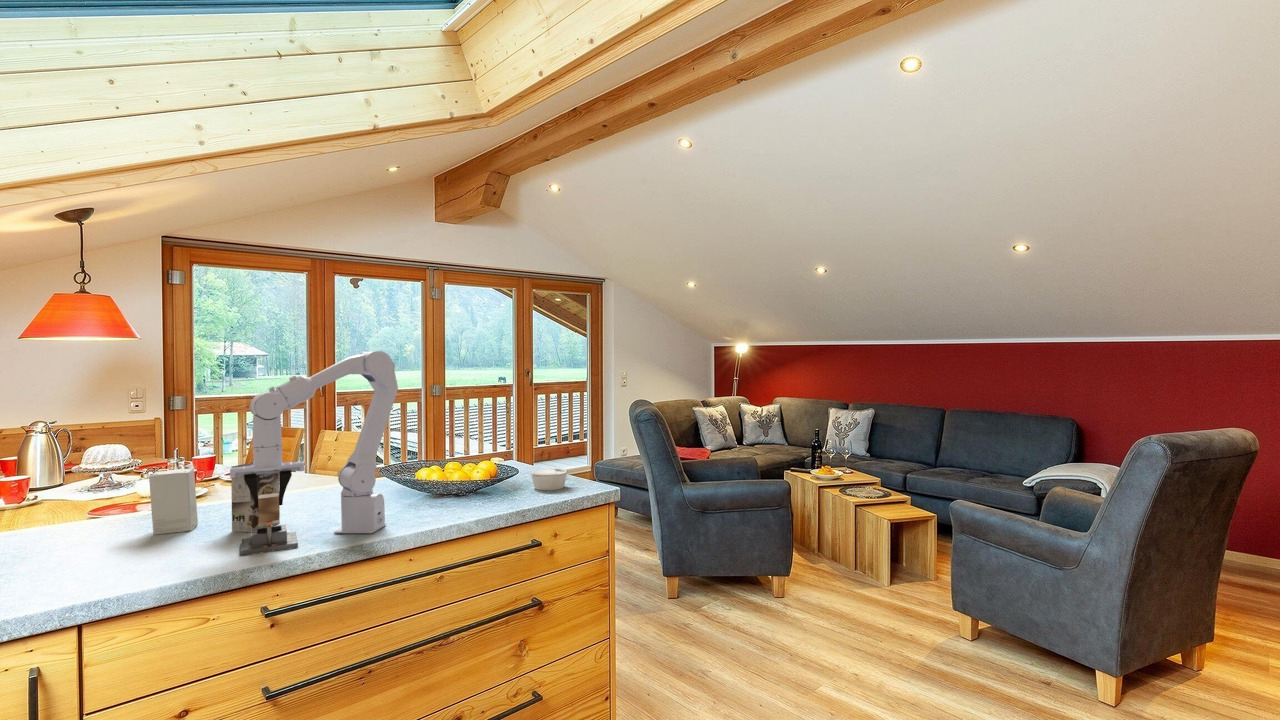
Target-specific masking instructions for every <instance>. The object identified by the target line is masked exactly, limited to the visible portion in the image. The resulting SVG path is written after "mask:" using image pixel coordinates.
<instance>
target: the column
mask: <svg viewBox="0 0 1280 720" xmlns="http://www.w3.org/2000/svg"><path fill="white" fill-rule="evenodd" d="M279 506H280V505H279V493H275V494H266V495H258V508H259V526H266V521H272V525H273V526H275V525H274V524H276V525H279V524H280V523H281V520H280V519H279Z"/></svg>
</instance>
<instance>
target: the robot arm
mask: <svg viewBox="0 0 1280 720" xmlns="http://www.w3.org/2000/svg"><path fill="white" fill-rule="evenodd" d="M395 368H396V364H395V363H394V361H393V359H392V358H391V356H390V355H389V354H388V353H387V352H385V351H382V350H375V351H370V350H366V351H365V350H364V351H362V352H360V353H359V354H354V355H351V356H348V357H347V358H343V359H342V360H340V361H338V362H336V363H334V364H332V365H330V366H328V367H326V368H325V369H323V370H321V371H319V372H317V373H315V374H313V375H311V376H309V377H308V376H304V375H298V376H296V375H292V376H291V377H288V379H289V380H288V381H286V382H284V383H281V384H280V385H277V386H276V387H274V386H270V387H269V388H268V391H269V392H261V393H257V394H256V395H255V396H254V397H253V398H252V399H251V400H250V401H251V402H250V403H249V404H250V405H248V407H249V411H250V413H251V414H252V423H253V426H252V428H251V430H252V459H253V460H252V462H253V465H251V466H244V467H235V468H231V467H230V469H229V478H234V477H239V476H244V481H245V483H246V484H247V486H248V488H249V490H250V492H251V494H252V497H253V500H254V503H255V508H258V491H257V475H261V474H272V473H279V506H283V505H284V504H283V503H284V502H283V501H284V496H285V493H286V490H287V487H288V485H289V483H290V480H291V479H292V476H293V475H292V474H293V473H292V472H304V471H305V462H304V461H296V462H295V461H293V462H292V461H289V462H288V461H287V462H283V441H282V440H283V438H282V437H283V434H282V432H283V430H282V428H283V427H282V424H281V423H282V421H281V420H282V419H281V417H282V416H281V415H282V414H283V412H284V411H285V410H286V411H287V410H289V409H291V408H293V407H296V406H297V405H300V404H302V403H304V402H306V401H307V400H310V399H312V398H313V397H314V396H315V393H316V391H317V389H320V388H322V387H324V386H326V385H329V384H330V383H333V382H335V381H337V380H339V379H341V378H343V377H347V376H348V375H360V376H361V377H363V378H364V379H366V380H367V382H368V383H369V385H370V386H371V388H372V389H373V396H372V398H371V401H370V404H369V406H368V409H367V413H366V416H365V418H364V421H363V424H362V427H361V429H360V433H359V435H358V439H357V442H356V445H355V447H354V450H353V452H352V453H351V454H350V456H349V457H348V458H347V460H346V463H345V465H344V466H343V467H342V468H341V469H340V471H339V472H338V475H337V479H338V483H339V485H340V486H341V487H342V490H341V491H340V499H341V500H340V509H341V511H340V513H341V519H340V521H341V527H340V528H337V529H336V530H334V532H333V534H373V533H375V532H377V531H379V530H380V529H382V528H384V527H385V526H387V523H386V522H385V521H386V519H385V518H386V517H385V512H386V510H385V508H386V507H385V497H384V495H383V494H382V493H376V492H374V487H375V485H376V470H377V460H376V459H377V458H376V457H377V453H378V451H379V448H380V445H381V442H382V439H383V436H384V433H385V430H386V426H387V424H388V421H389V419H390V415H391V412H392V409H393V406H394V403H395V400H396V397H397V394H398V389H399V385H398V381H397V380H398V379H397V376H396V371H395V370H396V369H395ZM272 470H276V471H272ZM259 471H265V472H259Z"/></svg>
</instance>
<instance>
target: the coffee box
mask: <svg viewBox="0 0 1280 720" xmlns="http://www.w3.org/2000/svg"><path fill="white" fill-rule="evenodd" d="M251 465H253V461H252V462H248V463H244V464H243V463H242V464H238V465H233V466H231V467H230V468H235V467H244V466H251ZM272 471H276V470H272ZM259 472H265V471H259ZM230 483H231V532H237V533H239V532H240V533H241V532H242V533H252V529H253V528H261V527H267V526H259V508H255V503H254V500H253V497H252V494H251V492H250V490H249V488H248V486H247V484H246V483H245V481H244V476H239V477H234V478H231V481H230ZM257 491H258V495H266V494H275V493H279V473H272V474H261V475H257ZM280 506H281V505H279V519H280V518H281V514H280V513H281V512H280V511H281V510H280Z"/></svg>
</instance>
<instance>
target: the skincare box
mask: <svg viewBox="0 0 1280 720" xmlns="http://www.w3.org/2000/svg"><path fill="white" fill-rule="evenodd" d="M194 468H195V467H194ZM194 468H193V467H192V468H191V467H190V468H182V469H172V470H163V471H162V470H161V471H159V470H158V471H155V472H154V473H152V474H151V475H149V476H148V479H149V480H148V481H149V492H150V495H149V496H150V506H151V507H150V508H151V519H152V520H151V521H152V534H153V535H162V534H164V535H165V534H171V533H181V532H189V531H190V532H191V531H192V530H193V529H195V528H196V527H198V525H199V519H198V506H197V505H198V504H197V491H196V490H197V489H196V478H195V469H194Z"/></svg>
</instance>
